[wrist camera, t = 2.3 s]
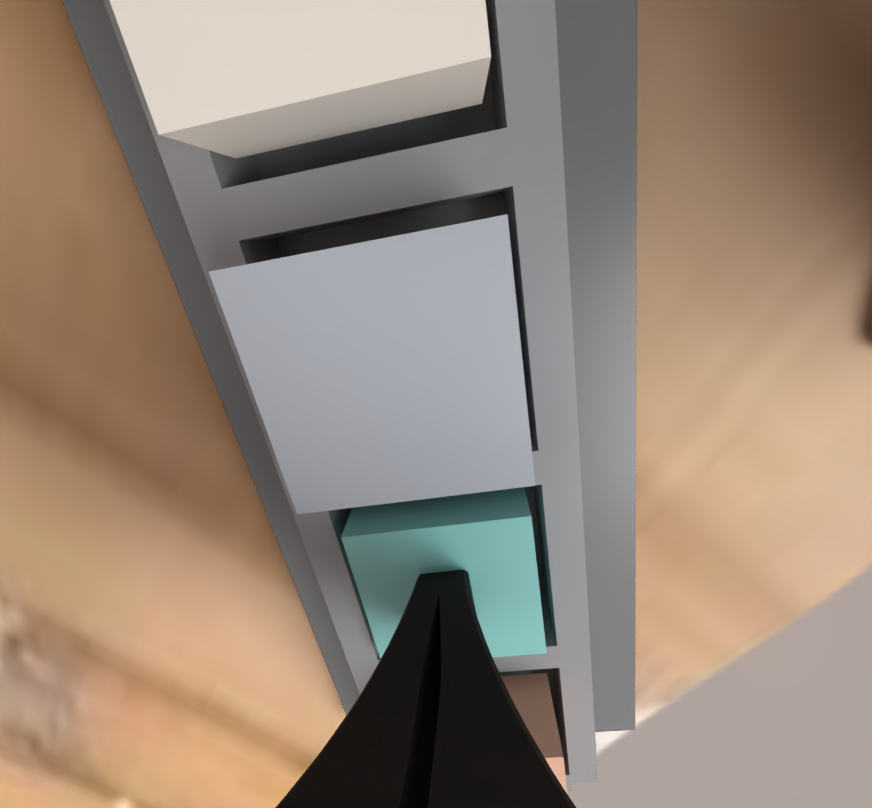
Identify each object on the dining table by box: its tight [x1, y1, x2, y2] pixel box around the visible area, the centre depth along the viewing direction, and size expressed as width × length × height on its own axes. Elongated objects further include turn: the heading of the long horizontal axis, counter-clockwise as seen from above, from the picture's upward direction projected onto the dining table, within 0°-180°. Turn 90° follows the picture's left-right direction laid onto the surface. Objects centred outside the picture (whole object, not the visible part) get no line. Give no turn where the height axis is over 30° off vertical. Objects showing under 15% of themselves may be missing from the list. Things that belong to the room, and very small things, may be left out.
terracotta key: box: [501, 673, 567, 793], centre depth 14 cm, size 5×5×2 cm
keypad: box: [62, 0, 637, 790], centre depth 13 cm, size 12×29×3 cm, turn 10°
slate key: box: [209, 214, 535, 514], centre depth 9 cm, size 5×5×2 cm
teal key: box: [341, 487, 547, 659], centre depth 13 cm, size 5×5×2 cm
